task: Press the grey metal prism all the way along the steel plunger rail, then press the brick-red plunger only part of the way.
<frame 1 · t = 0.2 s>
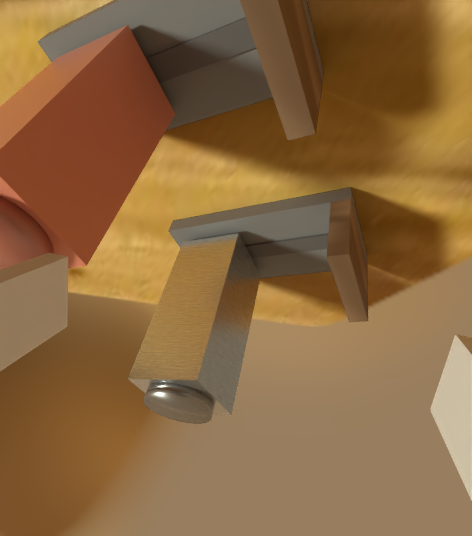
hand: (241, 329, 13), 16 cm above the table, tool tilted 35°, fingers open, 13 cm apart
grey metal prism: (203, 323, 28), point 8 cm above the table, slide at 0.0 cm
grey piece: (129, 73, 24), on the table
steel plunger rail: (226, 244, 34), on the table
brick-red plunger: (65, 148, 19), point 8 cm above the table, slide at 0.0 cm
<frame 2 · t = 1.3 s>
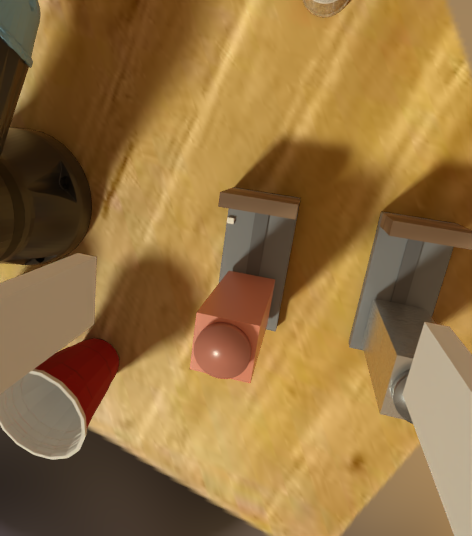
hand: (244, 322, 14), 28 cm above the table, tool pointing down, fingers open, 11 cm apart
grey metal prism: (406, 356, 34), point 8 cm above the table, slide at 0.0 cm
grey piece: (250, 291, 43), on the table
red and white piece: (98, 358, 50), on the table
steel plunger rail: (389, 319, 41), on the table
brick-red plunger: (237, 320, 36), point 8 cm above the table, slide at 0.0 cm
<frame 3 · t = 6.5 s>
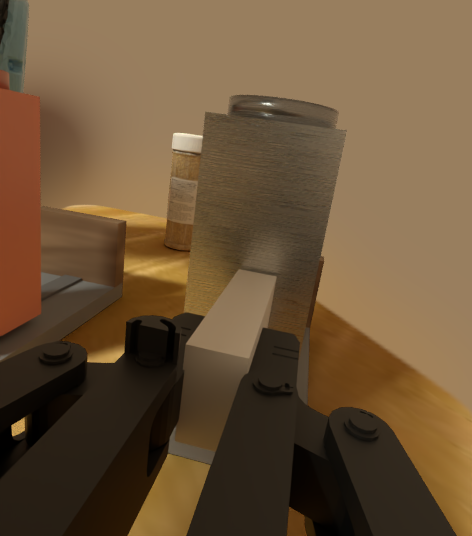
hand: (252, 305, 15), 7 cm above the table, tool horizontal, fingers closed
grey metal prism: (259, 257, 18), point 8 cm above the table, slide at 0.5 cm, touching gripper
sprinkles bottle: (181, 248, 49), on the table
steel plunger rail: (232, 414, 20), on the table
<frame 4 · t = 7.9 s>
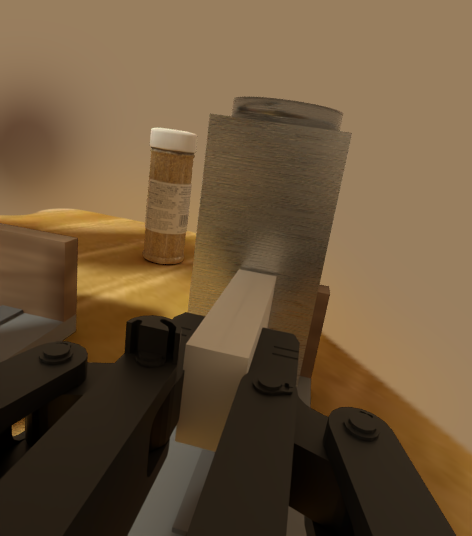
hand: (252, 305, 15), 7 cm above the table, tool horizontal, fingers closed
grey metal prism: (262, 258, 18), point 8 cm above the table, slide at 7.1 cm, touching gripper
sprinkles bottle: (163, 260, 43), on the table
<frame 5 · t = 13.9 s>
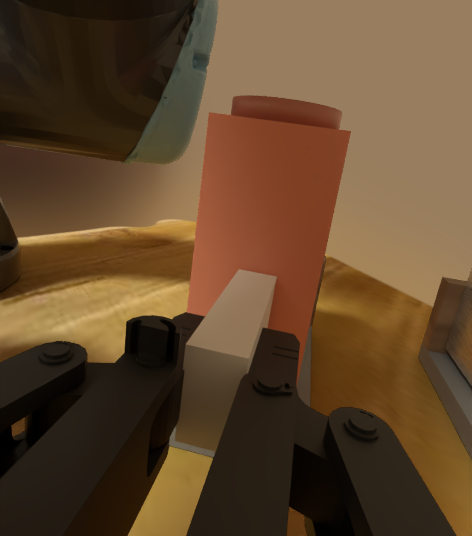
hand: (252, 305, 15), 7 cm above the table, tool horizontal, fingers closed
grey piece: (237, 409, 20), on the table
brick-red plunger: (262, 258, 18), point 8 cm above the table, slide at 0.0 cm, touching gripper
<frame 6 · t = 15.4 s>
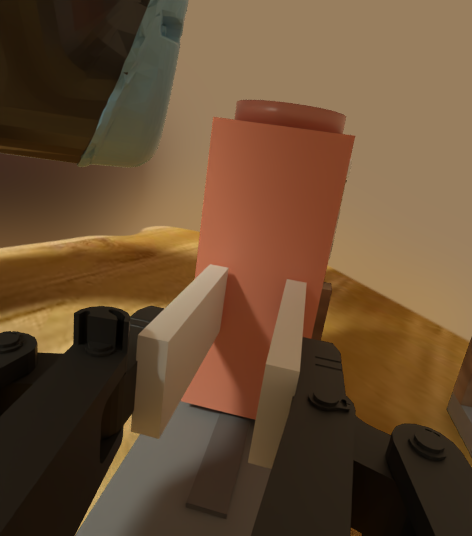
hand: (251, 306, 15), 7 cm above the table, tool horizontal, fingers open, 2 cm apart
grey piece: (209, 514, 14), on the table
brick-red plunger: (265, 261, 18), point 8 cm above the table, slide at 6.1 cm
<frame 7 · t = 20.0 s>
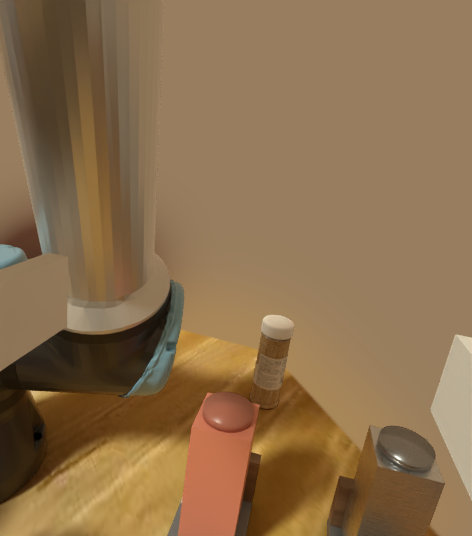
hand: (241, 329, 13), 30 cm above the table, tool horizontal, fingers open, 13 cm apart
grey metal prism: (387, 503, 34), point 8 cm above the table, slide at 7.0 cm
sprinkles bottle: (263, 401, 60), on the table
brick-red plunger: (219, 466, 36), point 8 cm above the table, slide at 6.1 cm
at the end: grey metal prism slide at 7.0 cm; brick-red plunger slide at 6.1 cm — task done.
